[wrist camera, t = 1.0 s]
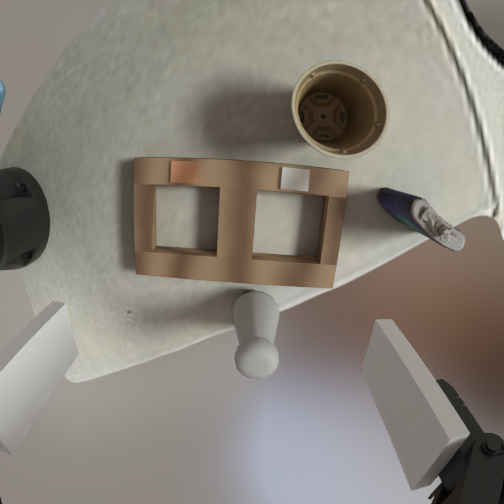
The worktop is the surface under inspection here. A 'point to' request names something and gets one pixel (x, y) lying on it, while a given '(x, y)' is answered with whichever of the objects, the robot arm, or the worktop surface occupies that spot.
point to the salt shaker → (256, 334)
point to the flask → (420, 218)
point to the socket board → (237, 221)
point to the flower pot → (340, 109)
